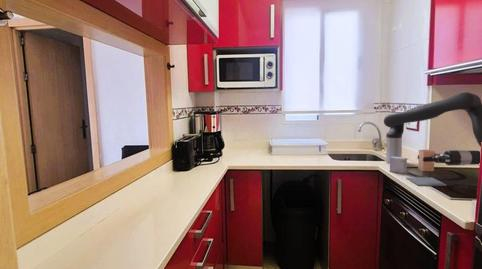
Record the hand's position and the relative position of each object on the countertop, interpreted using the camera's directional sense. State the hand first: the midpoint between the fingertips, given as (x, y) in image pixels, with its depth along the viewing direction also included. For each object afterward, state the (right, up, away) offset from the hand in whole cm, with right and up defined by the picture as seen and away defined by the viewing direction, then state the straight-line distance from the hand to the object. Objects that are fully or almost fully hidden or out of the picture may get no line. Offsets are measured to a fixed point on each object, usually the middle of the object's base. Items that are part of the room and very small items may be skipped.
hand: (420, 158), depth 140 cm
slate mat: (+3, -12, +1) cm, 13 cm away
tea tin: (+3, -6, 0) cm, 7 cm away
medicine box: (+1, -10, +22) cm, 25 cm away
